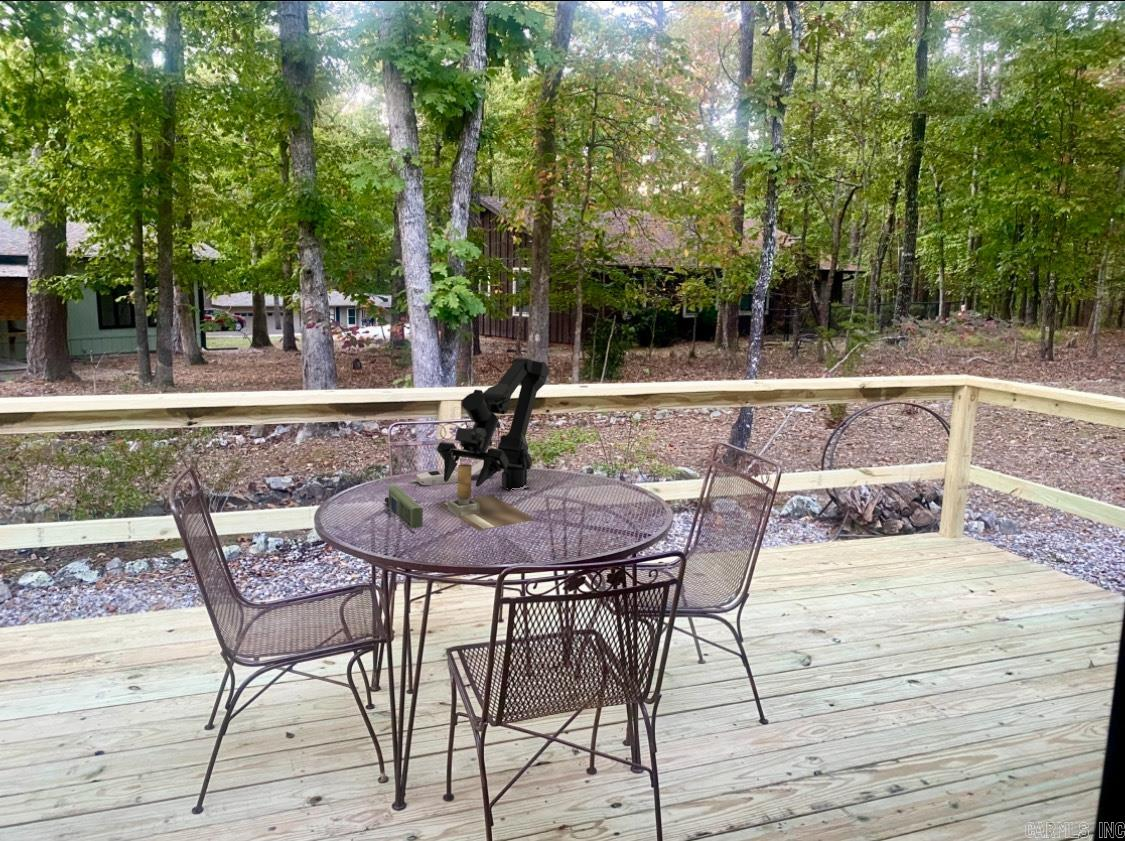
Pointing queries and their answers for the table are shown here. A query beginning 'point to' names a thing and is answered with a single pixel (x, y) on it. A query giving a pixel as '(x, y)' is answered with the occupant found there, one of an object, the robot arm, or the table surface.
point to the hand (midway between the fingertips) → (460, 483)
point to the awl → (464, 484)
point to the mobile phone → (438, 477)
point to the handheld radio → (404, 507)
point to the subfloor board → (486, 512)
